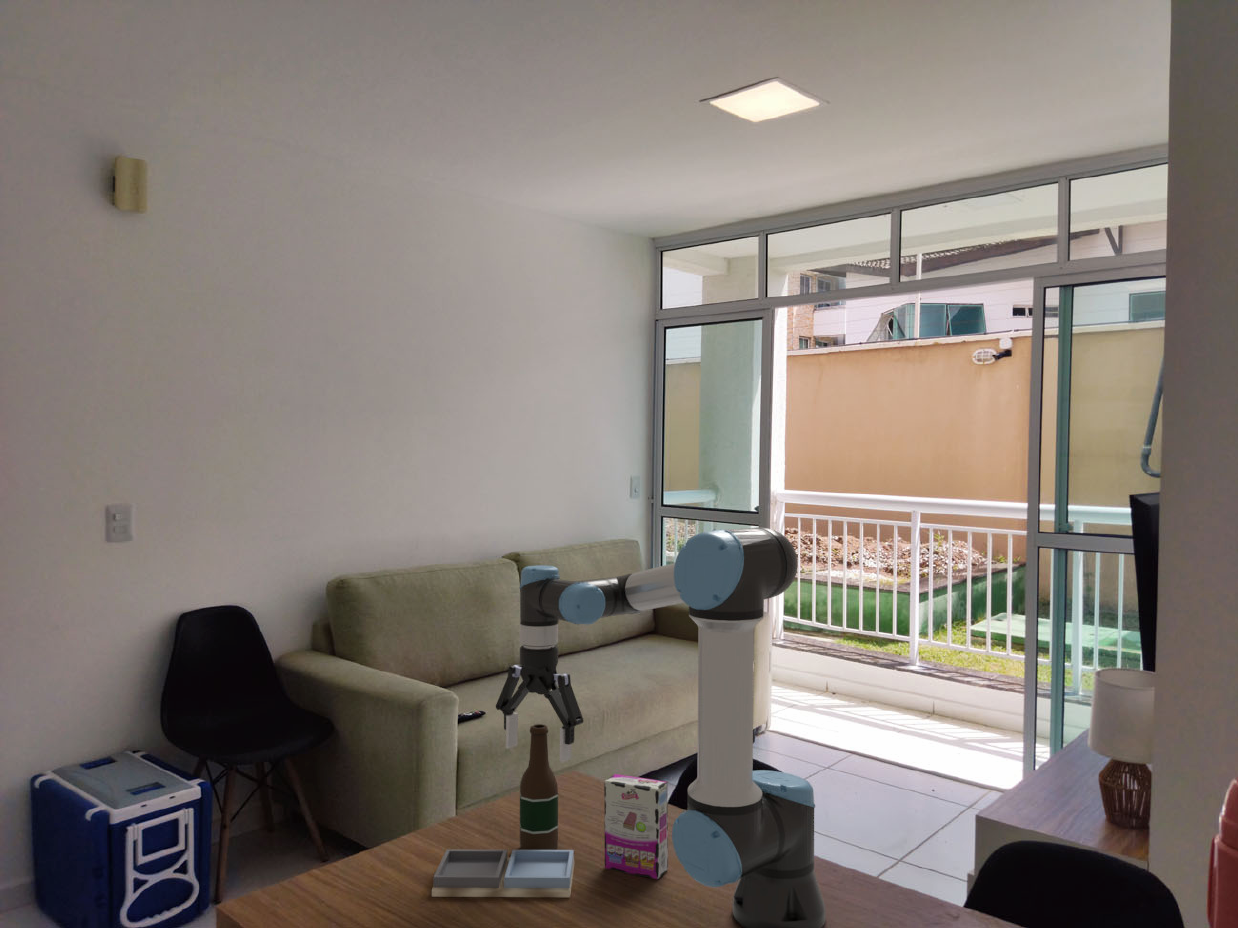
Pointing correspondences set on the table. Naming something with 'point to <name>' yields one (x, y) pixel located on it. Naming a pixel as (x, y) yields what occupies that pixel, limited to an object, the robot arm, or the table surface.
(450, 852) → the tray
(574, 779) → the table surface
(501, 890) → the board
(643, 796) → the candy bar box
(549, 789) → the beer bottle
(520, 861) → the light blue shallow tray
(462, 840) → the table surface
